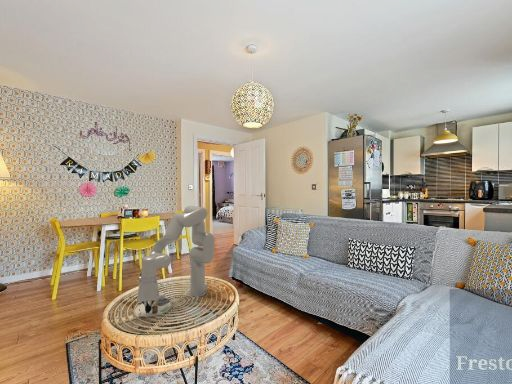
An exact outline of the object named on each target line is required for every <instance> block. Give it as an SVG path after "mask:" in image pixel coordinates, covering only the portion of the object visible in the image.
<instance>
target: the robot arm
mask: <svg viewBox="0 0 512 384" xmlns="http://www.w3.org/2000/svg"><path fill="white" fill-rule="evenodd" d="M207 216H208V210H207V208H205V207H203V206H194V205H190V206H189V205H188V206H186V207H184V211H183V212H176V213H175V214H174V215H173V216H172V218H171V220H170V222H169V225H168V227H167V228H166V231H165V234H164V235H162V236H161V237H160V238H159V239H158V240H157V241H156V242H155V244H154V245H153V246H152V249H150V252H149V255H147V256H144V257H142V259H141V272H142V276H141V277H138V280H141V282H140V283H139V285H138V289H137V290H138V291H137V303H141V304H144V306H145V311H146V313H149V312H150V311H151V306H152V304H153V303H154V302H157V301H158V300H159V298H158V296H159V293H160V291H159V283H158V280H157V269H165V268H168V267H169V266H170V265H171V263H172V257H171V256H170V255H169V254H166V253H163V251H164V249H165V248H166V247H167V246H168V245H170V244H172V243H175V242H177V241H178V240H179V239H180V236H181V234H182V232H183V230H184V228H191V242H192V244H193V245H195V246H194V247H192V248H190V250H189V253H188V257H189V264H190V265H189V266H190V277H189V278H190V286H189V288H190V289H189V290H188V292H187V294H188V295H189V296H192V297H194V296H195V297H198V298H202V297H204V296H206V295H207V294H206V292H207V293H208V291H207V288H208V287H210V284H209V283H206V282H205V279H206V277H205V276H206V266H205V264H207V265H208V264H211V263H212V262H213V260H214V257H215V237H214V235H213V234H212V233H211V232H207V231H206V225H205V219H206V218H207ZM205 294H206V295H205ZM148 301H149V304H148Z"/></svg>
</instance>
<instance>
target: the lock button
mask: <svg viewBox="0 0 512 384" xmlns="http://www.w3.org/2000/svg"><path fill="white" fill-rule="evenodd" d="M158 298H159V300H158V301H159V302H162V301H165V298H166V293H165V292H159V296H158Z"/></svg>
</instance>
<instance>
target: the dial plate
mask: <svg viewBox="0 0 512 384" xmlns="http://www.w3.org/2000/svg"><path fill="white" fill-rule="evenodd" d="M148 304H149V301H148ZM157 306H158V312H157V313H156V314H153V313H152V308H151V311H150V312H149V313H146V311H145V306H144V304H143V303H141V304H138V306H136V308H135V309H134V313H135V315H137V316H139V317H144V318H145V317H156V316H159V315H163V314H164V313H166V312H168V311H169V310H170V309H171V308H172V306H173V305H172V302H171V301H170V298H169V297H165V301H162V302H159V301H157ZM140 307H141V313H142V315H140V314H141V313H140V311H139V309H140Z"/></svg>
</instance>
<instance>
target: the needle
mask: <svg viewBox="0 0 512 384" xmlns="http://www.w3.org/2000/svg"><path fill="white" fill-rule="evenodd" d="M151 308H152V313H153V314H156V313H157V312H158V306H157V302H154V303H153V304H152V306H151Z"/></svg>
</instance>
